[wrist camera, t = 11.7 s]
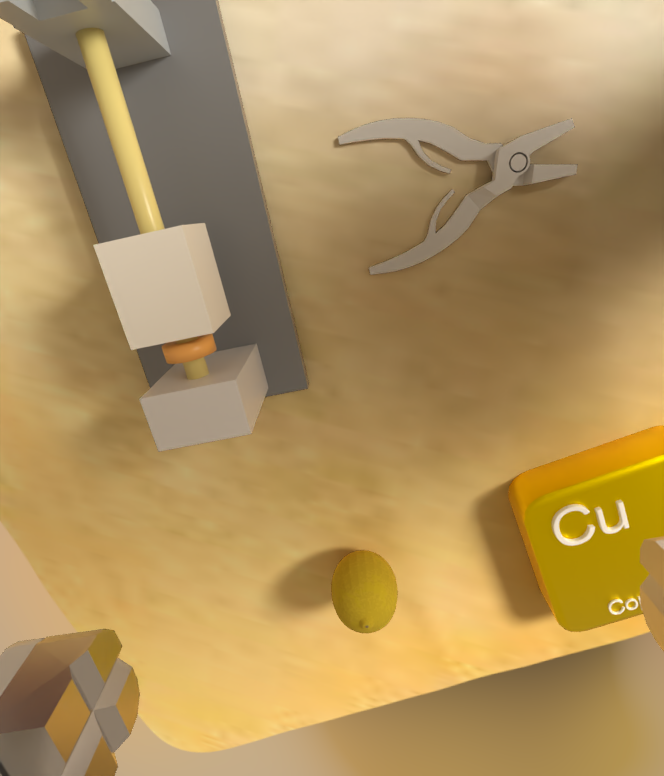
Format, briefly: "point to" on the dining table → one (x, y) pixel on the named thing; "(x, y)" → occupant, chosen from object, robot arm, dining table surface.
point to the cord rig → (172, 189)
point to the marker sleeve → (164, 284)
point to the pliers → (503, 161)
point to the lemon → (364, 591)
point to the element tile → (593, 527)
